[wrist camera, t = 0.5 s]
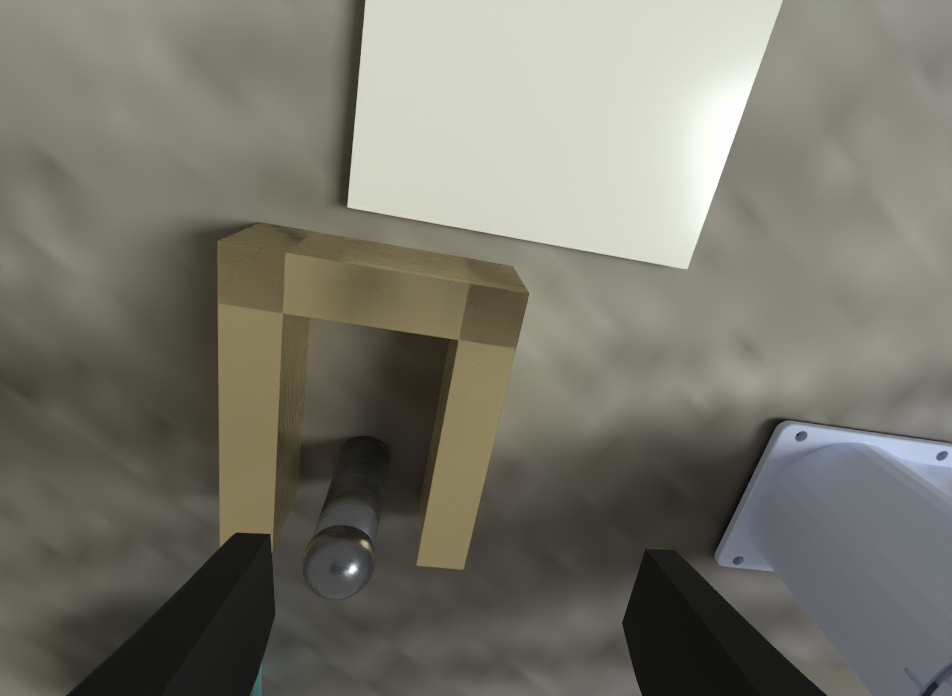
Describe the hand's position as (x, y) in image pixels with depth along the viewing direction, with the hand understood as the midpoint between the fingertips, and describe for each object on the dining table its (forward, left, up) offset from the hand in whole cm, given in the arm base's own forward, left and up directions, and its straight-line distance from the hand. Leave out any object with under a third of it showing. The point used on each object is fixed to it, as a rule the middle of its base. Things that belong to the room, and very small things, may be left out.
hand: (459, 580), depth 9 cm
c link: (+3, +1, -10) cm, 11 cm away
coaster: (-2, -11, -10) cm, 15 cm away
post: (+3, +5, -10) cm, 12 cm away
